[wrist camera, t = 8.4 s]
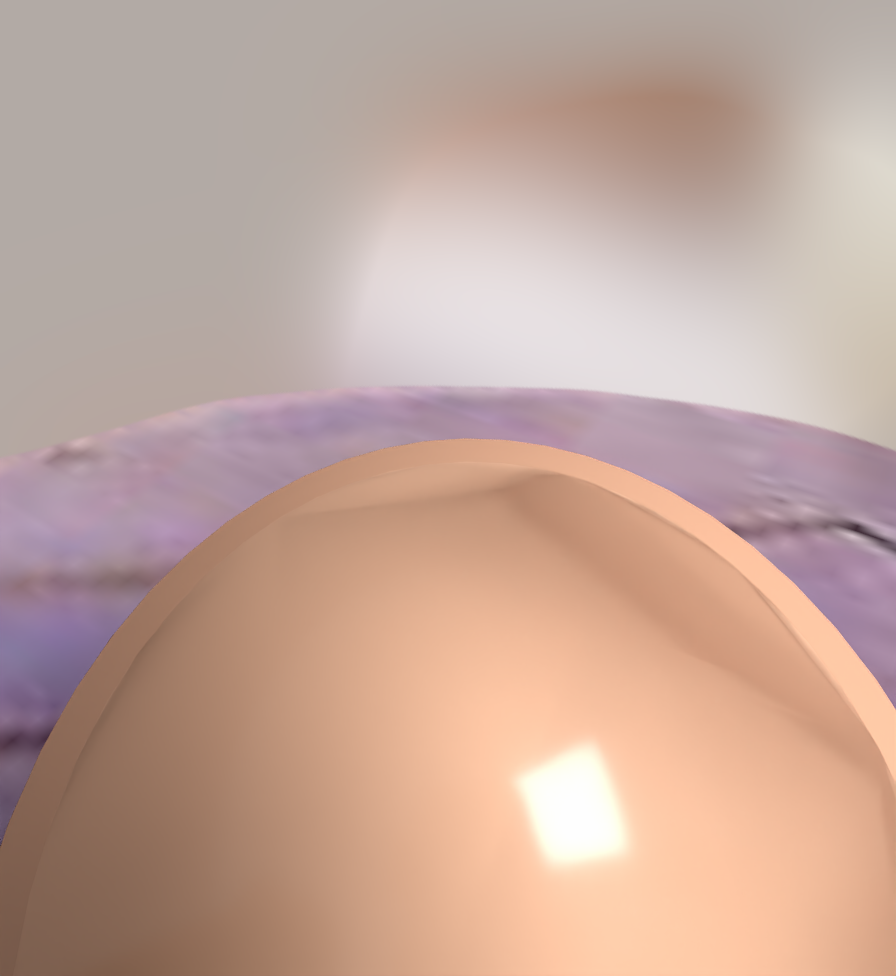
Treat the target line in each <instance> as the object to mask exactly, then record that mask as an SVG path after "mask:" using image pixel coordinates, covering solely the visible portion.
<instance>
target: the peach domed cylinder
mask: <svg viewBox="0 0 896 976" xmlns="http://www.w3.org/2000/svg"><path fill="white" fill-rule="evenodd" d="M0 976H896V710H895V708H894V706H893V705H892V703H891V702H890V700H889V699H888V697H887V696H886V694H885V693H884V691H883V690H882V688H881V686H880V685H879V683H878V682H877V680H876V679H875V678H874V676H873V675H872V674H871V672H870V671H869V670H868V669H867V667H866V666H865V665H864V664H863V662H862V661H861V660H860V658H859V657H858V656H857V655H856V653H855V652H854V651H853V649H852V648H851V647H850V646H849V644H848V643H847V642H846V641H845V639H844V638H843V637H842V635H841V634H840V633H839V632H838V630H837V629H836V628H835V627H834V626H833V624H832V623H831V622H830V621H829V620H828V619H827V618H826V617H825V616H824V615H823V614H822V613H821V612H820V611H819V610H818V608H817V607H816V606H815V605H814V604H813V603H812V602H811V601H810V600H809V599H808V598H807V597H806V596H805V595H804V594H803V592H802V591H801V590H800V589H799V588H798V587H797V586H796V585H795V584H794V583H793V582H792V581H791V580H790V579H789V578H787V577H786V576H785V575H784V574H783V573H782V572H781V571H780V570H778V569H777V568H776V567H775V566H774V565H773V564H772V563H771V562H769V561H768V560H767V559H766V558H765V557H764V556H763V555H762V554H761V553H759V552H758V551H757V550H756V549H755V548H754V547H753V546H751V545H750V544H749V543H747V542H746V541H745V540H743V539H742V538H741V537H739V536H738V535H736V534H735V533H734V532H732V531H731V530H730V529H728V528H727V527H726V526H724V525H723V524H722V523H720V522H719V521H717V520H716V519H715V518H713V517H712V516H711V515H709V514H707V513H706V512H704V511H702V510H701V509H699V508H697V507H696V506H694V505H692V504H691V503H689V502H687V501H686V500H684V499H682V498H681V497H679V496H677V495H676V494H674V493H672V492H671V491H669V490H667V489H665V488H663V487H661V486H659V485H657V484H654V483H652V482H650V481H648V480H646V479H644V478H642V477H640V476H638V475H636V474H633V473H631V472H629V471H627V470H624V469H621V468H619V467H616V466H613V465H610V464H607V463H605V462H602V461H599V460H596V459H594V458H591V457H588V456H585V455H581V454H577V453H573V452H569V451H565V450H561V449H557V448H553V447H549V446H543V445H536V444H529V443H522V442H515V441H508V440H490V439H451V440H436V441H424V442H418V443H412V444H406V445H401V446H395V447H389V448H384V449H381V450H377V451H374V452H370V453H367V454H363V455H359V456H356V457H352V458H349V459H345V460H343V461H340V462H338V463H335V464H333V465H330V466H328V467H325V468H323V469H320V470H318V471H315V472H313V473H310V474H308V475H305V476H304V477H302V478H300V479H298V480H296V481H294V482H292V483H290V484H288V485H286V486H285V487H283V488H281V489H279V490H277V491H275V492H273V493H271V494H269V495H267V496H266V497H264V498H263V499H261V500H260V501H258V502H257V503H255V504H253V505H252V506H250V507H249V508H247V509H246V510H244V511H243V512H241V513H240V514H238V515H237V516H235V517H234V518H232V519H231V520H229V521H228V522H226V523H225V524H224V525H223V526H221V527H220V528H219V529H218V530H216V531H215V532H214V533H213V534H212V535H210V536H209V537H208V538H207V539H205V540H204V541H203V542H202V543H200V544H199V545H198V546H197V547H196V548H194V549H193V550H192V551H191V552H189V553H188V554H187V555H186V556H185V557H184V558H183V559H182V560H181V561H180V562H179V563H178V564H177V565H176V566H175V567H174V568H173V569H172V570H171V571H170V572H169V573H168V574H167V575H166V576H165V577H164V578H163V579H162V580H161V581H160V582H159V583H158V584H157V585H156V586H155V587H154V588H153V589H152V590H151V591H150V592H149V593H148V594H147V595H146V596H145V598H144V599H143V600H142V601H141V602H140V604H139V605H138V606H137V607H136V608H135V610H134V611H133V612H132V613H131V614H130V616H129V617H128V618H127V619H126V620H125V621H124V623H123V624H122V625H121V626H120V627H119V629H118V630H117V631H116V632H115V633H114V635H113V636H112V637H111V639H110V640H109V641H108V643H107V644H106V646H105V647H104V649H103V650H102V652H101V653H100V654H99V656H98V657H97V659H96V660H95V662H94V663H93V665H92V666H91V668H90V669H89V670H88V672H87V673H86V675H85V676H84V678H83V679H82V681H81V682H80V683H79V685H78V686H77V688H76V689H75V691H74V693H73V695H72V696H71V698H70V700H69V702H68V703H67V705H66V707H65V709H64V711H63V712H62V714H61V716H60V718H59V719H58V721H57V723H56V725H55V727H54V728H53V730H52V732H51V734H50V735H49V737H48V739H47V741H46V743H45V744H44V746H43V748H42V750H41V752H40V754H39V756H38V758H37V761H36V763H35V765H34V767H33V769H32V772H31V774H30V776H29V778H28V781H27V783H26V785H25V787H24V790H23V792H22V794H21V796H20V799H19V801H18V803H17V805H16V807H15V810H14V812H13V814H12V816H11V819H10V821H9V823H8V826H7V829H6V832H5V835H4V838H3V841H2V844H1V847H0Z"/></svg>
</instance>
